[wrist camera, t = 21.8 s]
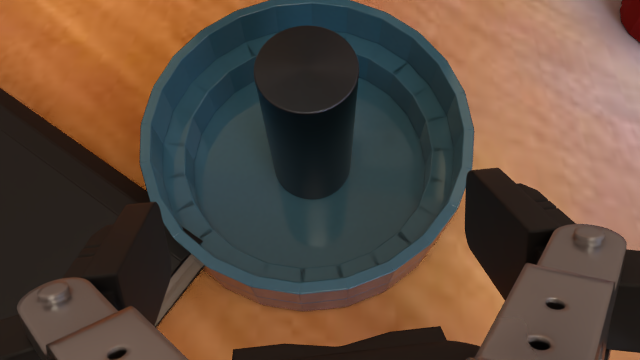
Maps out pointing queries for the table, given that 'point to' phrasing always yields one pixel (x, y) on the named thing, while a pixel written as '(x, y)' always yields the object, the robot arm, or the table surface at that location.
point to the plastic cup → (631, 17)
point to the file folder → (60, 207)
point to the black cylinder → (308, 107)
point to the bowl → (259, 174)
